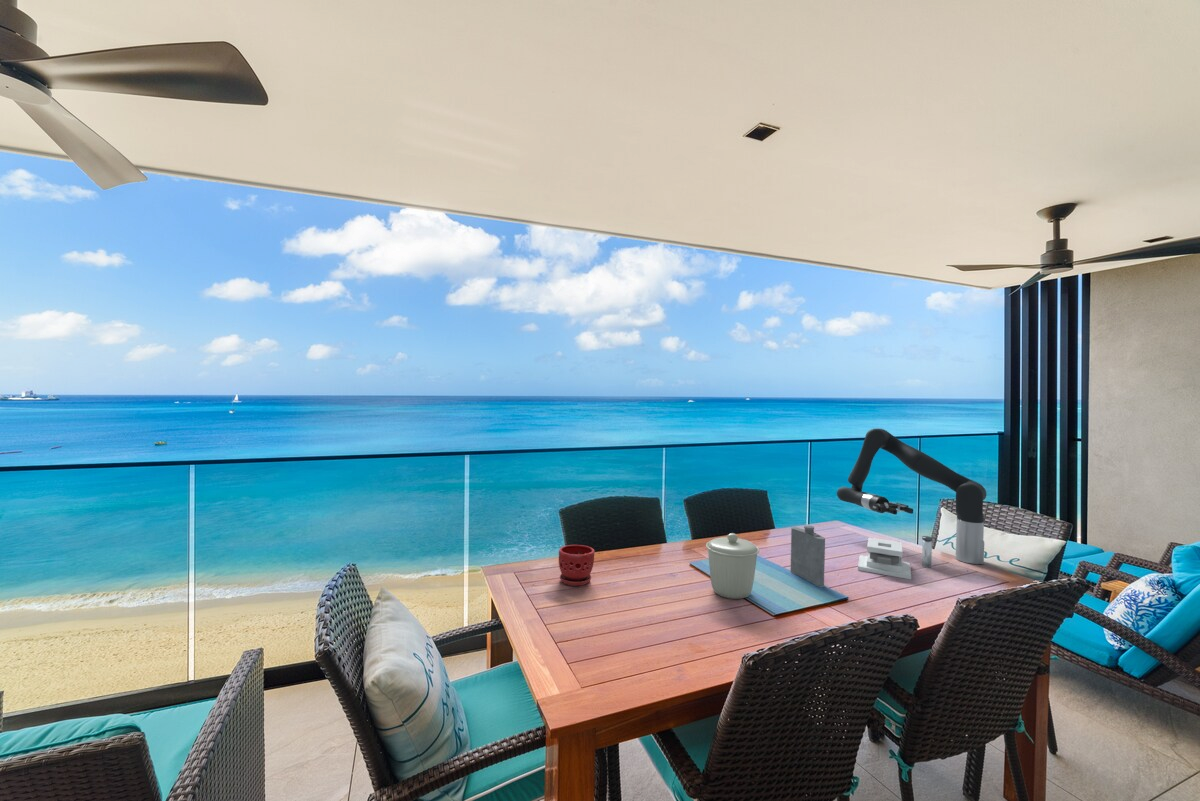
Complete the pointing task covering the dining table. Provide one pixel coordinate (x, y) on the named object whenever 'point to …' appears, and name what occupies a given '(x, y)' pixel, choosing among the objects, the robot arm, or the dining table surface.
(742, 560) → the canister
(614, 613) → the dining table surface
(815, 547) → the hip flask
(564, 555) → the plant pot
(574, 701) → the dining table surface
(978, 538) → the robot arm
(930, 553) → the clevis pin
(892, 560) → the clevis bracket
